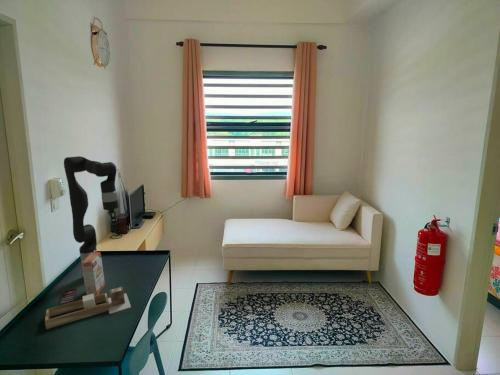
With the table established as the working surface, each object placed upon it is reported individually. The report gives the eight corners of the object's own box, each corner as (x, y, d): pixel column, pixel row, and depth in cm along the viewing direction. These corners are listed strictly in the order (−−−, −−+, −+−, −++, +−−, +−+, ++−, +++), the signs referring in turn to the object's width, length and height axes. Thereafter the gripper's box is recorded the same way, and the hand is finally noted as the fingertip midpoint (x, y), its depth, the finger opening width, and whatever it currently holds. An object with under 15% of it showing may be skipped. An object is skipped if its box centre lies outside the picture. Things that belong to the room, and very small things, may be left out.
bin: (48, 316, 152) (46, 309, 152) (107, 299, 165) (106, 292, 164) (46, 329, 142) (44, 321, 141) (109, 310, 155) (108, 302, 154)
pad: (106, 299, 165) (106, 298, 165) (126, 294, 170) (126, 293, 170) (109, 314, 151) (109, 313, 151) (131, 307, 156) (130, 306, 156)
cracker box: (98, 297, 168) (92, 261, 164) (86, 299, 167) (80, 262, 163) (106, 285, 181) (100, 251, 178) (95, 286, 181) (89, 252, 177)
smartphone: (77, 288, 178) (74, 301, 165) (77, 290, 178) (74, 302, 165) (62, 292, 175) (58, 305, 162) (62, 293, 176) (58, 306, 162)
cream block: (84, 308, 157) (82, 296, 156) (95, 305, 160) (93, 293, 159) (85, 314, 152) (82, 301, 151) (96, 311, 155) (94, 298, 153)
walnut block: (123, 298, 164) (121, 286, 163) (125, 302, 160) (123, 290, 158) (111, 302, 161) (109, 289, 160) (112, 306, 157) (110, 293, 155)
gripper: (119, 201, 161) (123, 230, 163) (115, 196, 173) (119, 224, 176) (103, 203, 157) (107, 233, 160) (101, 198, 169) (105, 227, 172)
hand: (114, 228), depth 168 cm, fingers open, 8 cm apart
